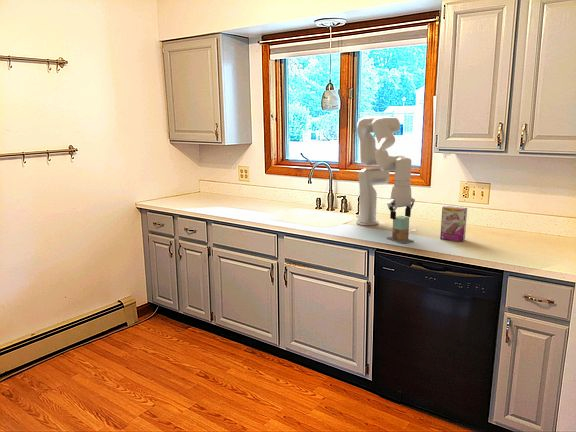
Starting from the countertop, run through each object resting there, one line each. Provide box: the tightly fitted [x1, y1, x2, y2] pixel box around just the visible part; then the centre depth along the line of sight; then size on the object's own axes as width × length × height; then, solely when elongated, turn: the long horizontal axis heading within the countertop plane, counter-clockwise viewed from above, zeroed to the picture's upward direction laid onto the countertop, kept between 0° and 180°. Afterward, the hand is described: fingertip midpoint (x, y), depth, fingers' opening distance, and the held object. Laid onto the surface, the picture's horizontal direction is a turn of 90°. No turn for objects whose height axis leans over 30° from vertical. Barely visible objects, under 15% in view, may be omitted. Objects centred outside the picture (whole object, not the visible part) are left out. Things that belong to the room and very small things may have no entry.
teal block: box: [392, 215, 410, 230], centre depth 234 cm, size 6×6×6 cm
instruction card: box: [409, 227, 418, 232], centre depth 256 cm, size 6×4×1 cm, turn 30°
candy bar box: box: [439, 205, 468, 243], centre depth 234 cm, size 11×5×16 cm, turn 59°
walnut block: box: [391, 227, 410, 241], centre depth 235 cm, size 6×6×6 cm
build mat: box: [386, 236, 415, 245], centre depth 235 cm, size 12×7×1 cm, turn 30°
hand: (400, 217), depth 234 cm, fingers open, 9 cm apart
